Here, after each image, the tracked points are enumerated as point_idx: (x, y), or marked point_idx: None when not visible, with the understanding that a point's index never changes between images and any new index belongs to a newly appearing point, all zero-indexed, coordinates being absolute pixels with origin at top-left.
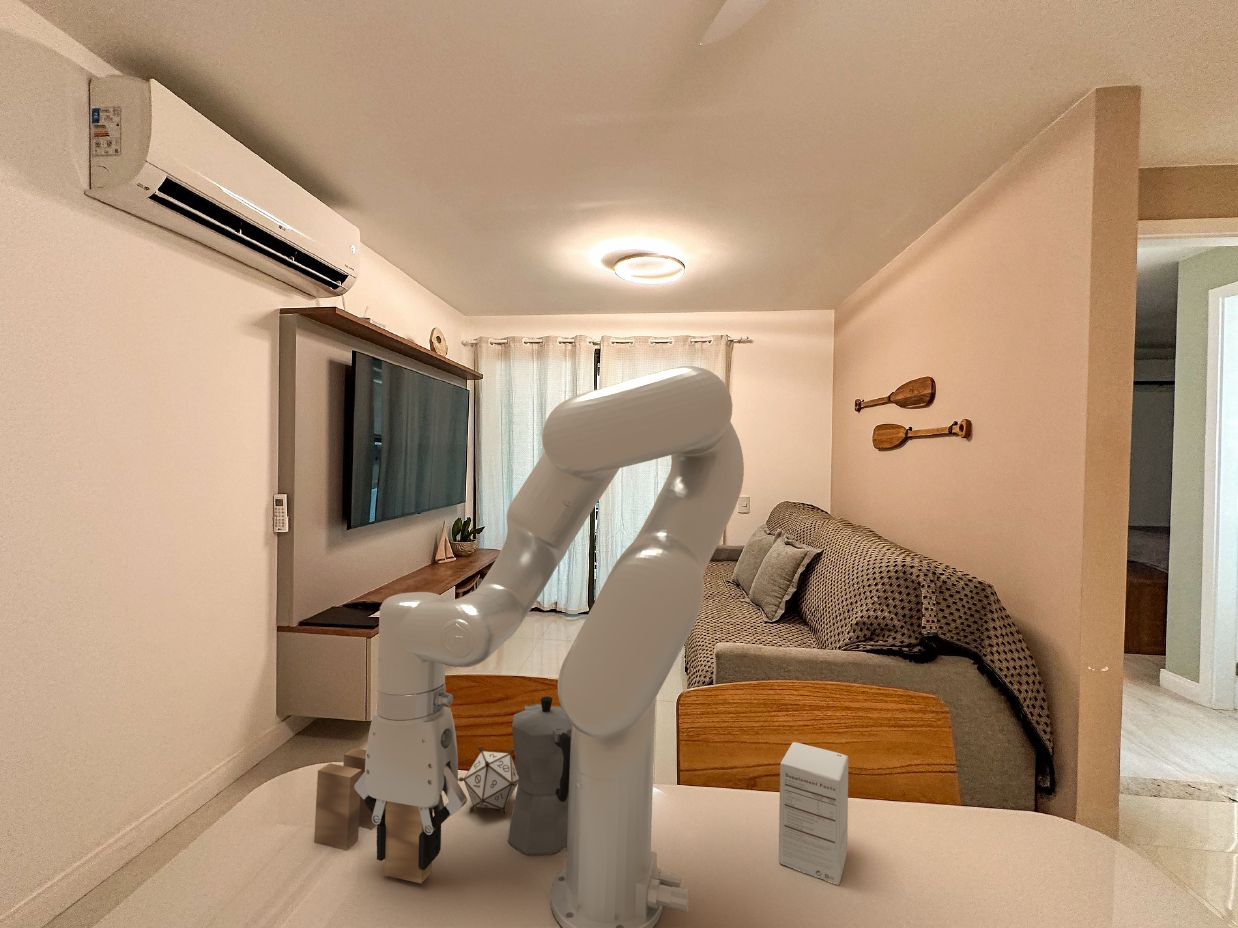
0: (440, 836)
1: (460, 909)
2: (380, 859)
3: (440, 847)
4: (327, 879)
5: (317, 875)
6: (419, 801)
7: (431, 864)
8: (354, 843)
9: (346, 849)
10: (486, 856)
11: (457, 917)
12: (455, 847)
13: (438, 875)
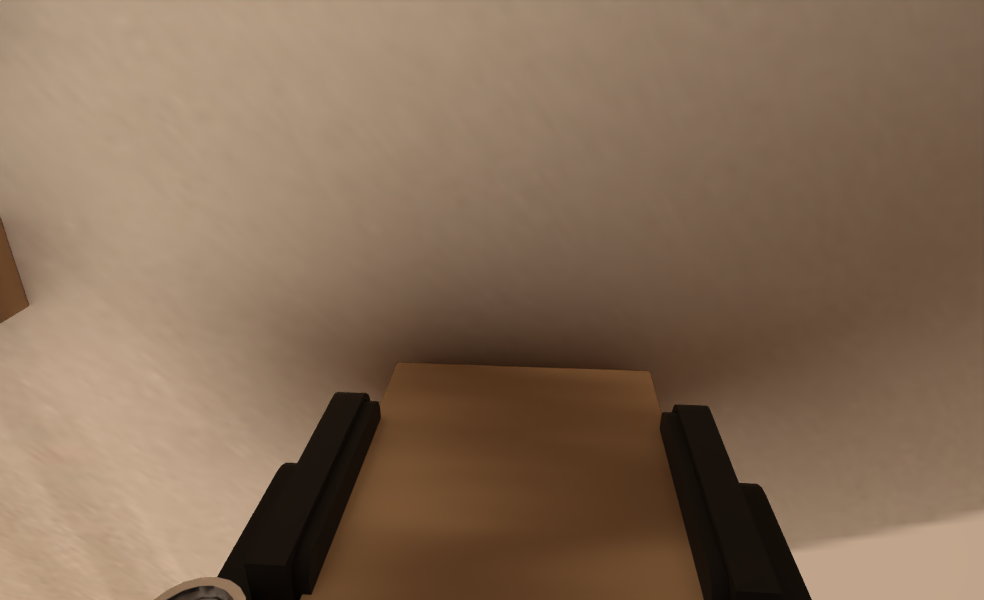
0: (789, 558)
1: (897, 487)
2: None
3: (765, 498)
4: (156, 491)
5: (89, 483)
6: None
7: (655, 396)
8: (6, 242)
9: (23, 305)
10: (927, 81)
11: (899, 525)
12: (656, 63)
13: (675, 329)
